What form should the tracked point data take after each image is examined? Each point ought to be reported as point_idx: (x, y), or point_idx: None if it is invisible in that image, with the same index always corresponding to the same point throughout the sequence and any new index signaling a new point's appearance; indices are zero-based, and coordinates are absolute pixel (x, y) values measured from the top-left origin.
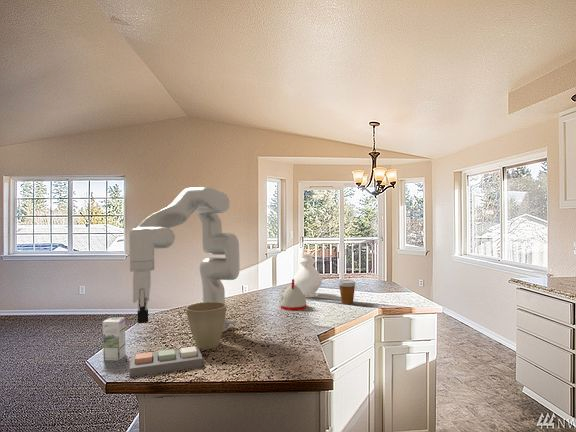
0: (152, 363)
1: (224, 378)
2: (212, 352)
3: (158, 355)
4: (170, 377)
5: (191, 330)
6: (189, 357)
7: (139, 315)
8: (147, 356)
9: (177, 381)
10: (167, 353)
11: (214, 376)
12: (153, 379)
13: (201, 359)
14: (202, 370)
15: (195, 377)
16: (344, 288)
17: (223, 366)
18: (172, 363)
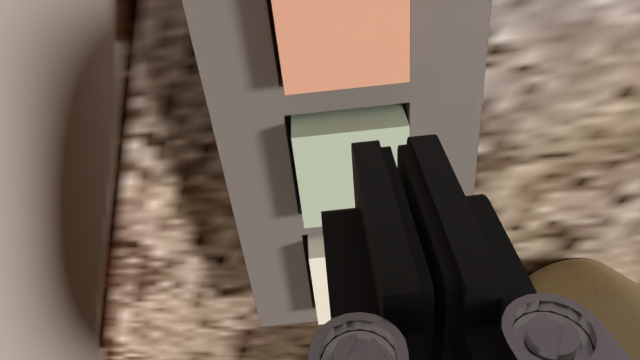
0: (245, 85)
1: (138, 349)
2: None
3: (408, 106)
4: (185, 155)
5: (620, 334)
6: (296, 275)
7: (367, 252)
8: (306, 59)
9: (124, 190)
10: (328, 187)
11: (165, 321)
12: (169, 67)
13: (259, 319)
14: (249, 281)
15: (165, 259)
16: None
17: (275, 348)
18: (231, 198)
